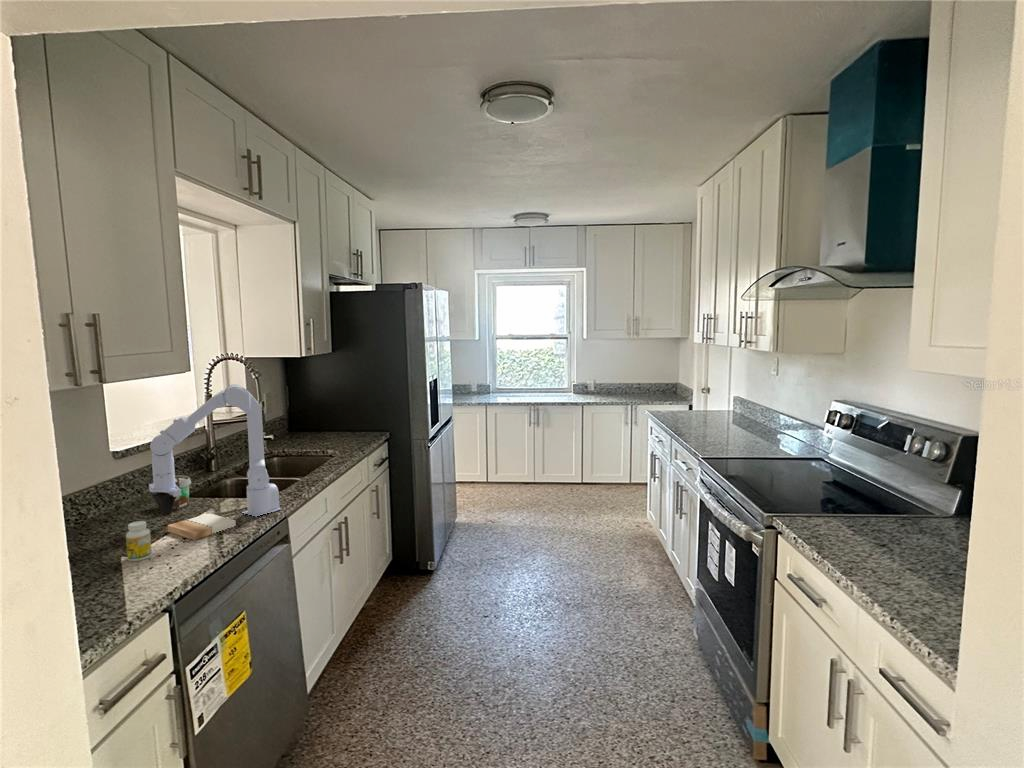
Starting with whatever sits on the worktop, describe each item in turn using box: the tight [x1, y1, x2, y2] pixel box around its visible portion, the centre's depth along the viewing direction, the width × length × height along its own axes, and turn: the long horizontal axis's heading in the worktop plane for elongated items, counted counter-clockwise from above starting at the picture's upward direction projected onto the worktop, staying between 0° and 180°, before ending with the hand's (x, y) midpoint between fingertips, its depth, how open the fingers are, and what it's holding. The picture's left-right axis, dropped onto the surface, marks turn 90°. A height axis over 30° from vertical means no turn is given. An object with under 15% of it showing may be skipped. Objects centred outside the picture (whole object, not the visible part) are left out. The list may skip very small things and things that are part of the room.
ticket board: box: [184, 513, 237, 535], centre depth 166 cm, size 8×14×2 cm, turn 61°
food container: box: [172, 474, 192, 510], centre depth 187 cm, size 12×6×10 cm, turn 59°
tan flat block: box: [167, 519, 212, 541], centre depth 160 cm, size 5×14×2 cm, turn 61°
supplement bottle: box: [125, 520, 153, 562], centre depth 142 cm, size 5×5×10 cm
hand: (166, 515), depth 166 cm, fingers closed
